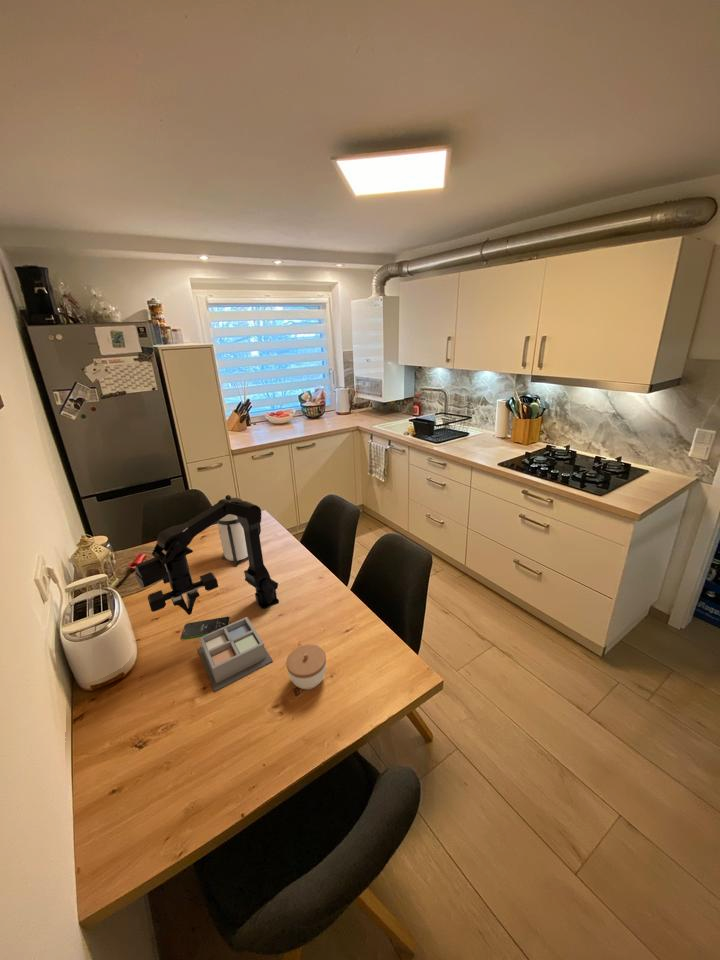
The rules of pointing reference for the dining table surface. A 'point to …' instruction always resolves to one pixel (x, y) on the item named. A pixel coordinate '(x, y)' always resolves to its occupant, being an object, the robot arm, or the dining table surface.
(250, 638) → the key sage
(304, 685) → the lidded jar
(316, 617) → the dining table surface
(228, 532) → the coffee press
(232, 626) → the keypad base
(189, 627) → the smartphone
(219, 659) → the key terracotta
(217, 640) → the key cream
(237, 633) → the key slate
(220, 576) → the dining table surface
